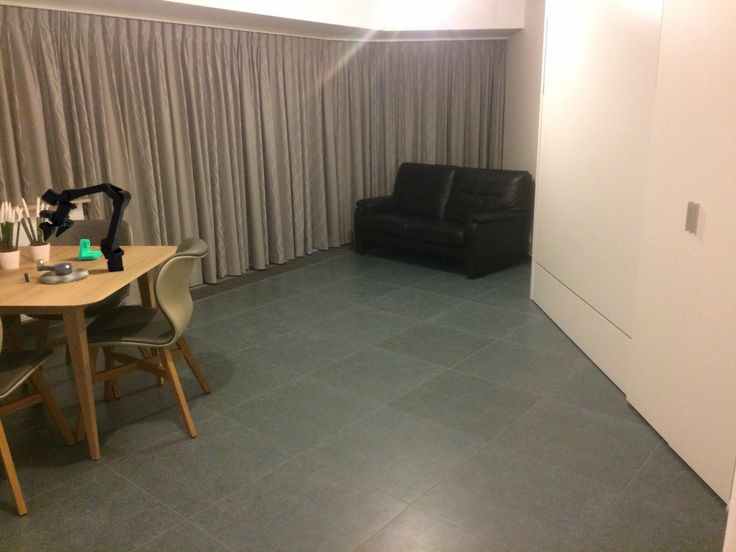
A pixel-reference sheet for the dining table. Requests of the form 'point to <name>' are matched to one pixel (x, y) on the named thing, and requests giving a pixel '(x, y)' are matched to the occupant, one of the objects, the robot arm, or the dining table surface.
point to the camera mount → (87, 250)
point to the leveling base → (61, 276)
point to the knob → (55, 267)
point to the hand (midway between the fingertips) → (50, 239)
